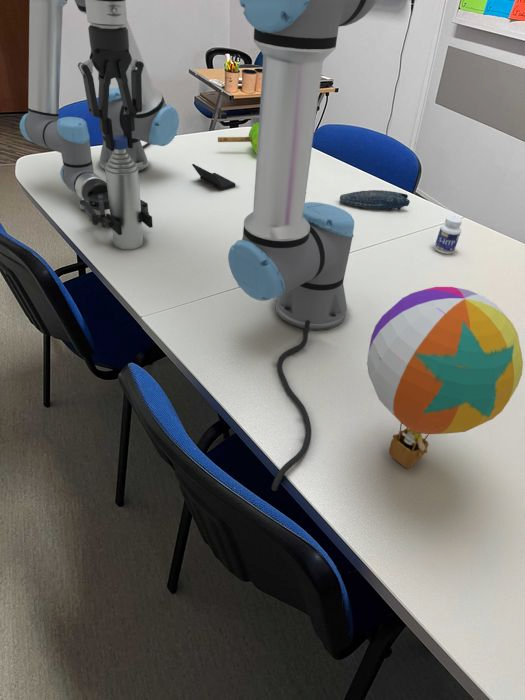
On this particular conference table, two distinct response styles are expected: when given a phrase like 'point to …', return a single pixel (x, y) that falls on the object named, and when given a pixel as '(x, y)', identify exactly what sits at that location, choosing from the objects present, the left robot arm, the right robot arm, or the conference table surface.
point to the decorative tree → (252, 137)
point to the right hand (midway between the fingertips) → (119, 147)
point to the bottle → (124, 199)
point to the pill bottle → (448, 235)
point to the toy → (442, 365)
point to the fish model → (376, 199)
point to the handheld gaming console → (214, 178)
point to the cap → (120, 142)
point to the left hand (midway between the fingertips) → (135, 225)
